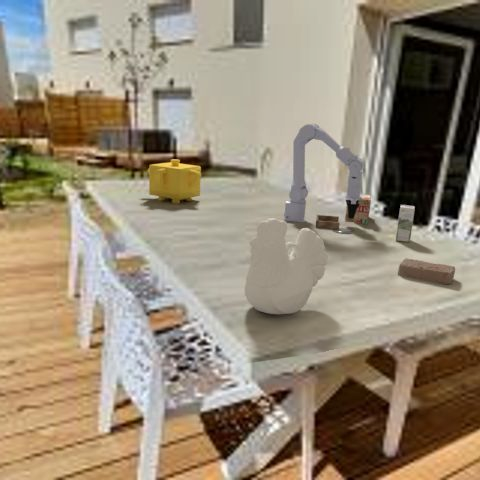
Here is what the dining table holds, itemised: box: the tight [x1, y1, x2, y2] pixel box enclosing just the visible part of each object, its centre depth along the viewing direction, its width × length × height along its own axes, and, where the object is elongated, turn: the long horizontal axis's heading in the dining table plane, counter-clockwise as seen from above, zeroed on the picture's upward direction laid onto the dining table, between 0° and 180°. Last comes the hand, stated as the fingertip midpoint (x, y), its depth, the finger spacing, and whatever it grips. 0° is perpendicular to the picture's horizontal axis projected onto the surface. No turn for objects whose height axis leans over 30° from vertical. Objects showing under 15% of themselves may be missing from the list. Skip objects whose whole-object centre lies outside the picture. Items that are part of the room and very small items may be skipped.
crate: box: [315, 214, 340, 230], centre depth 228 cm, size 10×13×4 cm
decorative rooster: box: [244, 217, 329, 315], centre depth 133 cm, size 25×16×25 cm, turn 110°
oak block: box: [344, 205, 357, 224], centre depth 226 cm, size 4×4×6 cm
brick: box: [397, 258, 456, 285], centre depth 167 cm, size 16×8×5 cm, turn 61°
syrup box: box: [395, 204, 416, 244], centre depth 209 cm, size 6×6×14 cm
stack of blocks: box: [355, 193, 372, 225], centre depth 243 cm, size 21×6×12 cm, turn 169°
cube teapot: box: [146, 158, 202, 204], centre depth 268 cm, size 35×30×21 cm
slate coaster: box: [331, 227, 357, 235], centre depth 219 cm, size 10×10×1 cm
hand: (350, 217), depth 226 cm, fingers closed on oak block, 4 cm apart
